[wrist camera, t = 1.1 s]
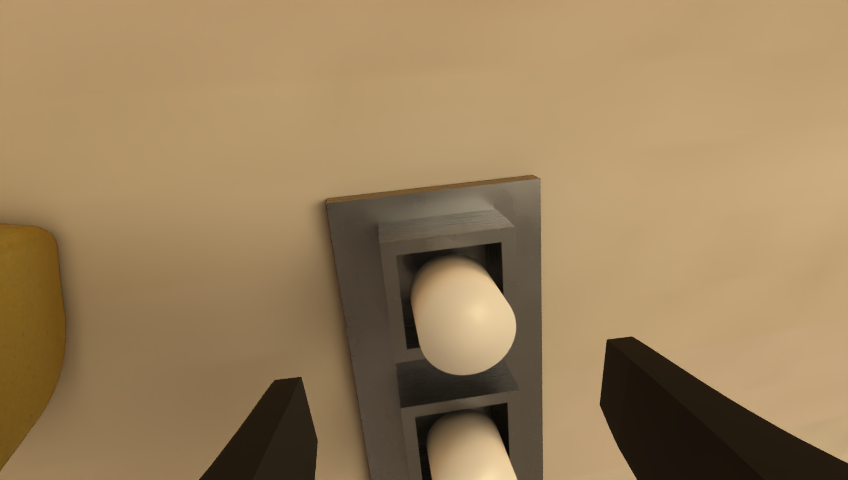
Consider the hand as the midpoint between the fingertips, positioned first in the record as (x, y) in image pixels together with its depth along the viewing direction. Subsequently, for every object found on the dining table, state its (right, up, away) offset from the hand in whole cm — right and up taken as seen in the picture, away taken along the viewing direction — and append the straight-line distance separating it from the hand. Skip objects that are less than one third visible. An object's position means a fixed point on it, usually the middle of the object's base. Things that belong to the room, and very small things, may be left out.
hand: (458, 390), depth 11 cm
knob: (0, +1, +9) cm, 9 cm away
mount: (+1, -5, +15) cm, 16 cm away
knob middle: (+1, -6, +12) cm, 13 cm away
